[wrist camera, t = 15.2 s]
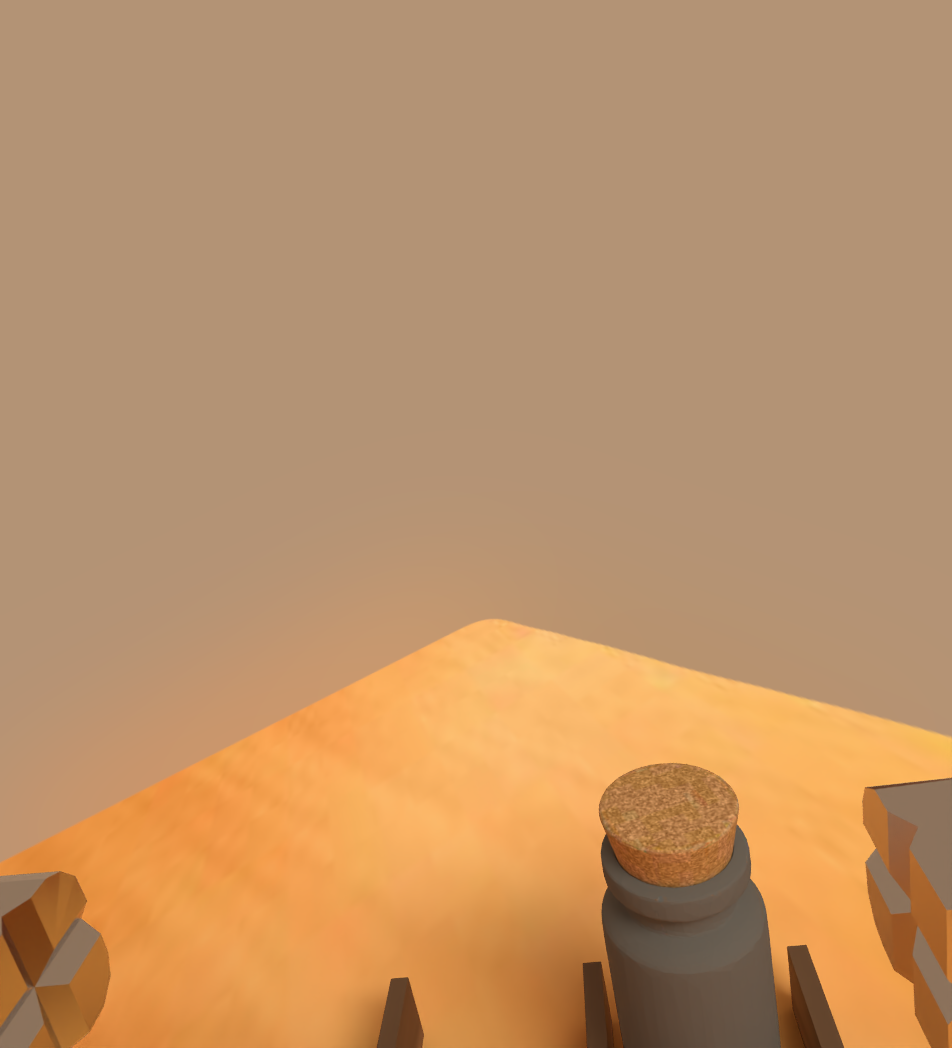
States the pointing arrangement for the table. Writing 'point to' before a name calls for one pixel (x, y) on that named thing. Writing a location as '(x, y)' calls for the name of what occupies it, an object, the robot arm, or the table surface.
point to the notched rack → (808, 1001)
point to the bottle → (684, 914)
